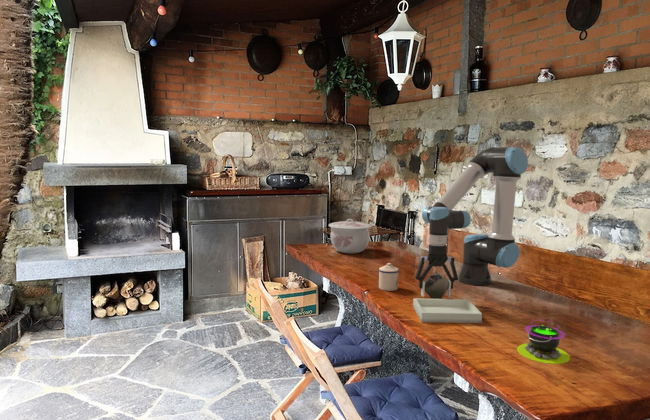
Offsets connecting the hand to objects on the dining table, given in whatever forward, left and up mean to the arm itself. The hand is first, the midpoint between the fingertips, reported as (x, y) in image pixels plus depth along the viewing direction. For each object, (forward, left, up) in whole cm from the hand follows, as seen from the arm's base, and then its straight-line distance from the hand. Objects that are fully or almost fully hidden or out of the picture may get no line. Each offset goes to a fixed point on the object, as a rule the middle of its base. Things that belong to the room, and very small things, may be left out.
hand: (435, 296), depth 196 cm
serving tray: (0, +17, -2) cm, 18 cm away
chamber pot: (+32, -96, -2) cm, 101 cm away
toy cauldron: (-22, +51, -2) cm, 56 cm away
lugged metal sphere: (0, 0, -2) cm, 2 cm away
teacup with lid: (+18, -18, -2) cm, 26 cm away
